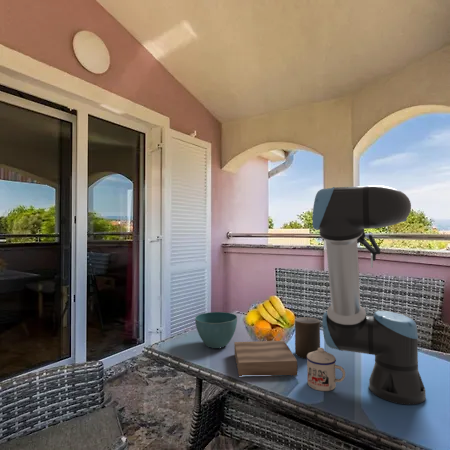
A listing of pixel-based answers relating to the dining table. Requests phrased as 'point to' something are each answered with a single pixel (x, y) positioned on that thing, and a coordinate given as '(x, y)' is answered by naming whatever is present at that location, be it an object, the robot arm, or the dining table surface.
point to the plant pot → (216, 328)
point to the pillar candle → (306, 336)
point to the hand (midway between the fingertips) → (355, 264)
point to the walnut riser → (264, 358)
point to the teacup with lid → (322, 370)
